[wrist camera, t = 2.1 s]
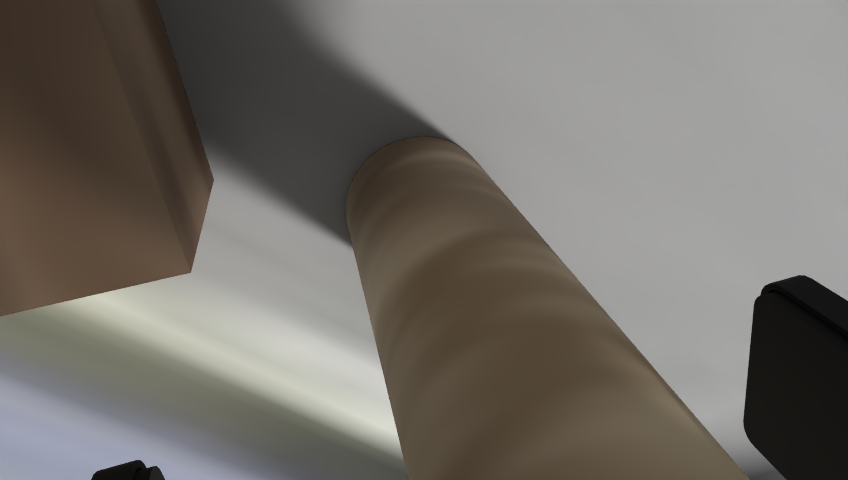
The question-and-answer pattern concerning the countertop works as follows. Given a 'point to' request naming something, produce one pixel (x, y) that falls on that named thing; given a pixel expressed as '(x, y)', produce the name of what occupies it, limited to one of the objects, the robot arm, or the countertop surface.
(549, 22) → the countertop surface
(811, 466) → the robot arm
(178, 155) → the bore block
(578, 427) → the pin
